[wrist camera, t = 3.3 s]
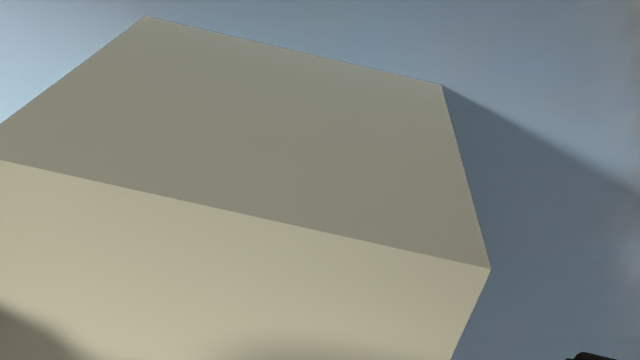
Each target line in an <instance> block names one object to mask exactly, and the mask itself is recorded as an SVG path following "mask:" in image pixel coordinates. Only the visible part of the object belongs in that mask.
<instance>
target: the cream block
mask: <svg viewBox="0 0 640 360" xmlns="http://www.w3.org/2000/svg"><path fill="white" fill-rule="evenodd" d="M491 270H492V269H491V265H490V262H489V258H488V254H487V251H486V247H485V243H484V240H483V236H482V232H481V229H480V225H479V222H478V218H477V214H476V211H475V207H474V203H473V200H472V196H471V192H470V189H469V185H468V181H467V178H466V174H465V170H464V167H463V163H462V159H461V156H460V152H459V148H458V145H457V141H456V137H455V134H454V130H453V126H452V123H451V119H450V115H449V112H448V108H447V104H446V101H445V97H444V93H443V90H442V86H441V85H440V84H436V83H432V82H428V81H423V80H419V79H415V78H410V77H406V76H402V75H397V74H393V73H389V72H385V71H380V70H376V69H372V68H367V67H363V66H359V65H354V64H350V63H346V62H342V61H337V60H333V59H329V58H324V57H320V56H316V55H311V54H307V53H303V52H299V51H294V50H290V49H286V48H281V47H277V46H273V45H268V44H264V43H260V42H256V41H251V40H247V39H243V38H238V37H234V36H230V35H226V34H221V33H217V32H213V31H208V30H204V29H200V28H195V27H191V26H187V25H183V24H178V23H174V22H170V21H165V20H161V19H157V18H152V17H148V16H145V17H143V18H142V19H141V20H139V21H138V22H137V23H135V24H134V25H133V26H131V27H130V28H128V29H127V30H126V31H124V32H123V33H122V34H120V35H119V36H118V37H116V38H115V39H114V40H112V41H111V42H110V43H108V44H107V45H106V46H104V47H103V48H102V49H100V50H99V51H98V52H96V53H95V54H94V55H92V56H91V57H90V58H88V59H87V60H85V61H84V62H83V63H81V64H80V65H79V66H77V67H76V68H75V69H73V70H72V71H71V72H69V73H68V74H67V75H65V76H64V77H63V78H61V79H60V80H59V81H57V82H56V83H55V84H53V85H52V86H51V87H49V88H48V89H47V90H45V91H44V92H43V93H41V94H40V95H38V96H37V97H36V98H34V99H33V100H32V101H30V102H29V103H28V104H26V105H25V106H24V107H22V108H21V109H20V110H18V111H17V112H16V113H14V114H13V115H12V116H10V117H9V118H8V119H6V120H5V121H4V122H2V123H1V124H0V360H450V359H451V357H452V355H453V352H454V350H455V348H456V346H457V344H458V342H459V339H460V337H461V335H462V333H463V331H464V328H465V326H466V324H467V322H468V320H469V318H470V315H471V313H472V311H473V309H474V307H475V305H476V302H477V300H478V298H479V296H480V294H481V291H482V289H483V287H484V285H485V283H486V281H487V278H488V276H489V274H490V272H491Z"/></svg>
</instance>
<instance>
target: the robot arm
mask: <svg viewBox="0 0 640 360" xmlns="http://www.w3.org/2000/svg"><path fill="white" fill-rule="evenodd" d="M566 360H616V359H611V358H607V357H603V356H599V355H594V354H590V353H586V352H581V353H579V354H577V355H576V356H575V358H574V359H569V358H567V359H566Z"/></svg>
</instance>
